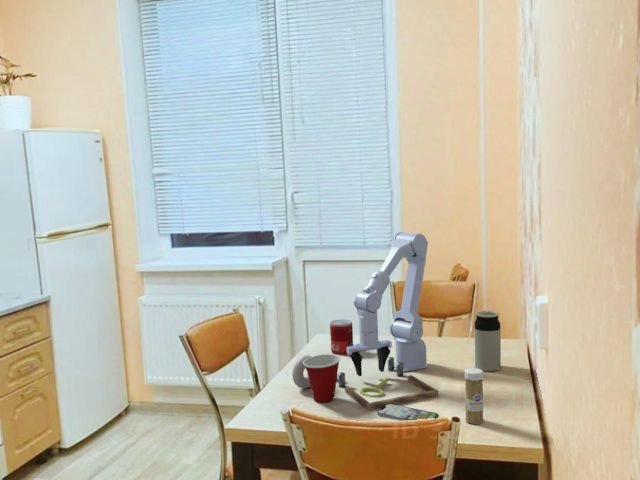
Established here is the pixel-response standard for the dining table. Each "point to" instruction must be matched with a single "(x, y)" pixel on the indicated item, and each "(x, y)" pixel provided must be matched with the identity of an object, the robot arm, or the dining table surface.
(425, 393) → the bay
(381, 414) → the smartphone
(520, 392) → the dining table surface
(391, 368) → the spacers
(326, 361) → the plastic cup
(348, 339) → the canned food
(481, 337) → the travel mug
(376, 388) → the key
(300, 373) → the donut
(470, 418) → the sprinkles bottle
